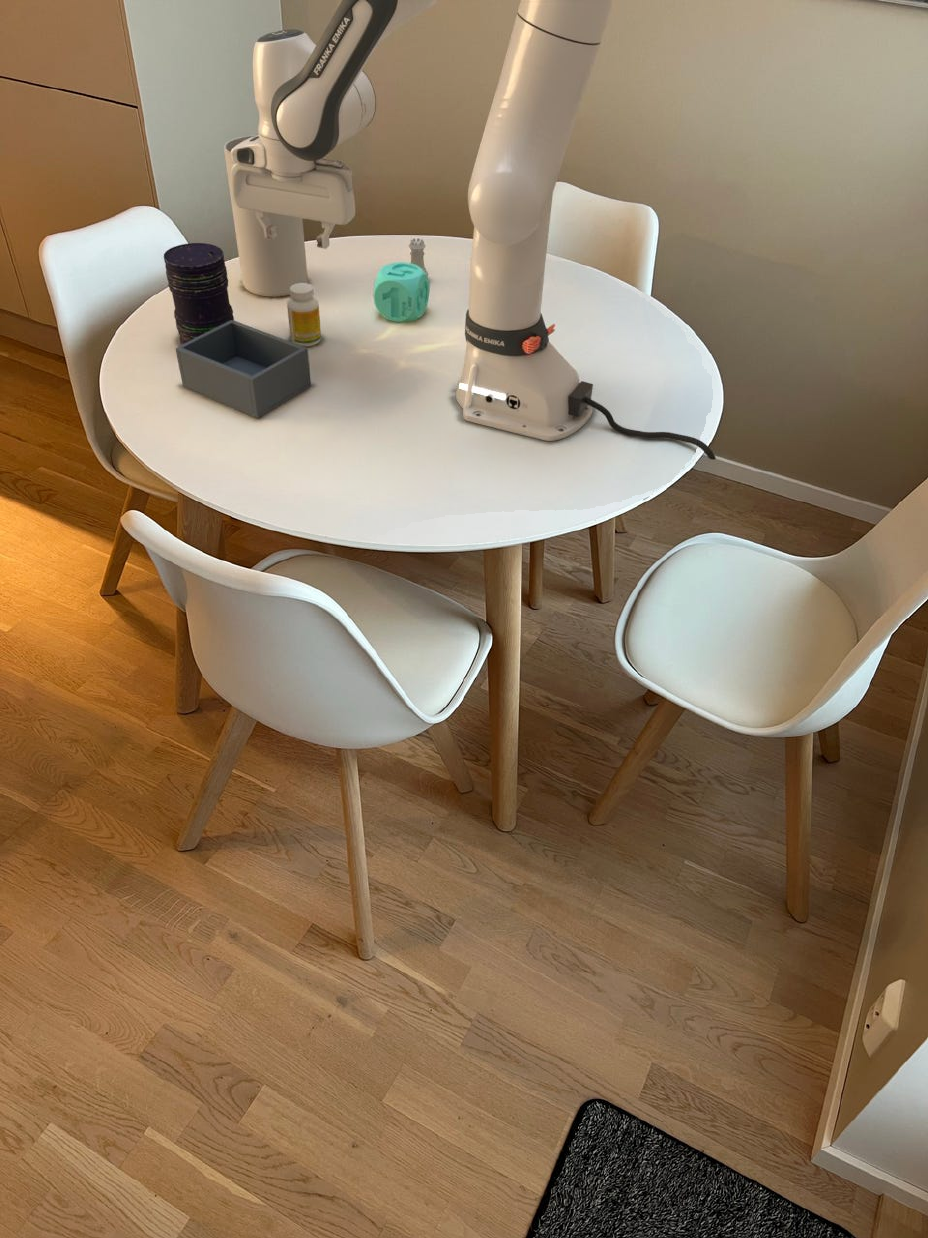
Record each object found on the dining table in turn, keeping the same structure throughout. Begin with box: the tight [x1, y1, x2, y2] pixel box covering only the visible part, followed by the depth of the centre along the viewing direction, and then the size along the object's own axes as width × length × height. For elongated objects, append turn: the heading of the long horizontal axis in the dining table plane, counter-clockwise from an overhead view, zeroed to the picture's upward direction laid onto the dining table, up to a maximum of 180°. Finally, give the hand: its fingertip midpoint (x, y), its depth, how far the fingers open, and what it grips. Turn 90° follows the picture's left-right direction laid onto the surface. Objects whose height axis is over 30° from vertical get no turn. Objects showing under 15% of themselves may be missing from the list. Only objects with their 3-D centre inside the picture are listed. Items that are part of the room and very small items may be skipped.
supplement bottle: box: [286, 282, 322, 347], centre depth 161 cm, size 5×5×10 cm
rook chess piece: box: [408, 237, 429, 277], centre depth 180 cm, size 4×4×8 cm
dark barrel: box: [163, 242, 235, 345], centre depth 158 cm, size 10×10×15 cm
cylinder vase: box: [223, 134, 309, 298], centre depth 172 cm, size 12×12×25 cm
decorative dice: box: [373, 261, 431, 323], centre depth 170 cm, size 8×8×8 cm
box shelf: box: [174, 319, 312, 419], centre depth 149 cm, size 17×13×7 cm
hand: (297, 242), depth 152 cm, fingers open, 8 cm apart
